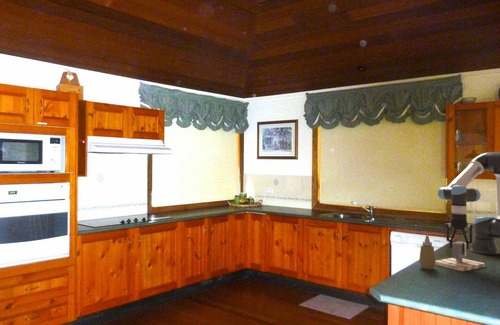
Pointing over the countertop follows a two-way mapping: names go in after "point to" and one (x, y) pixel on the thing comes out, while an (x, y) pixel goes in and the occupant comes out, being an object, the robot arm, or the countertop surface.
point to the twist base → (459, 264)
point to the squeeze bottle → (427, 255)
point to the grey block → (458, 250)
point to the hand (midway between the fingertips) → (459, 254)
